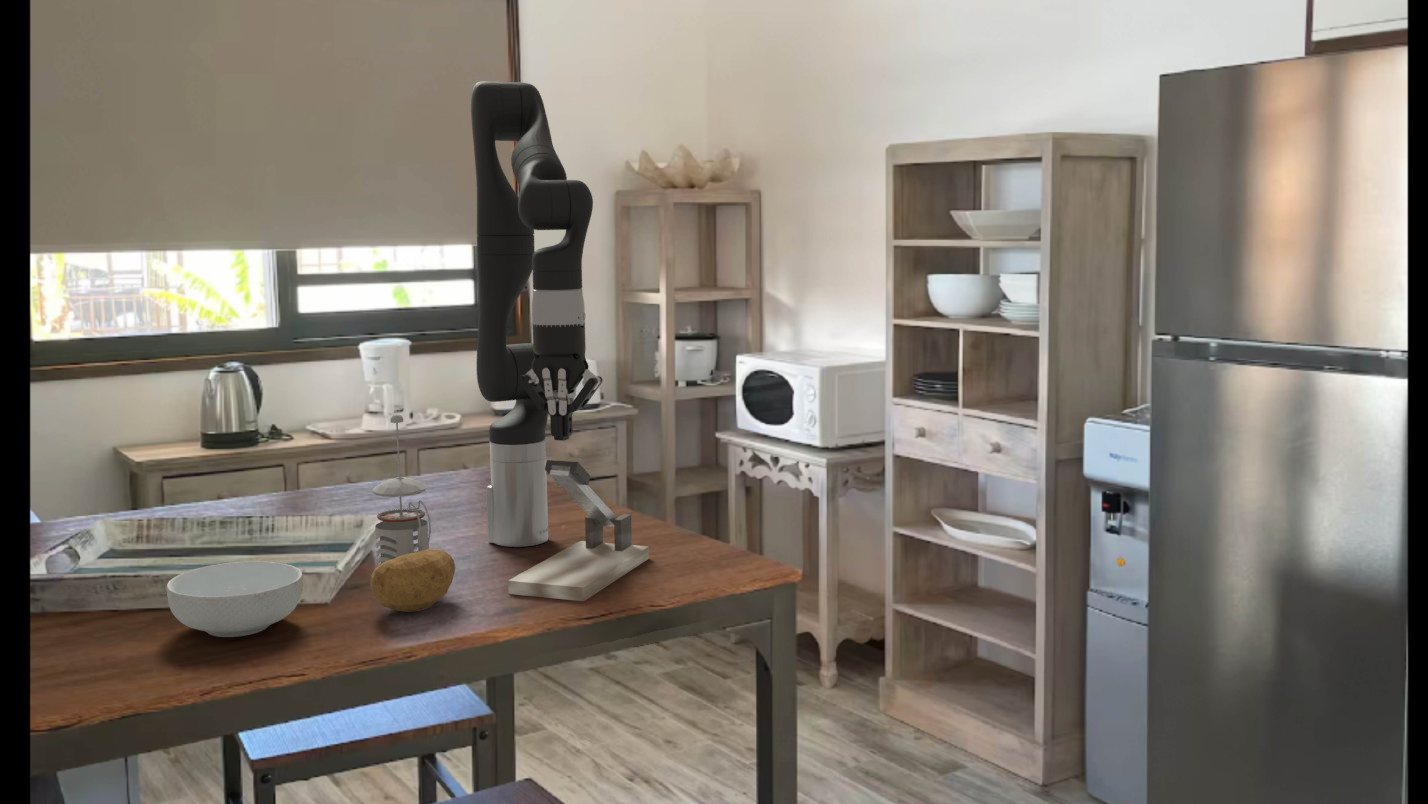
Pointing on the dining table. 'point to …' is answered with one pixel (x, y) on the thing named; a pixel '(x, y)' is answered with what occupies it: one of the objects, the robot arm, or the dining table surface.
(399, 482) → the french press
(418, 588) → the potato
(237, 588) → the cereal bowl
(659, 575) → the dining table surface
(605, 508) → the lever
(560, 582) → the press base
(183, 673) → the dining table surface
